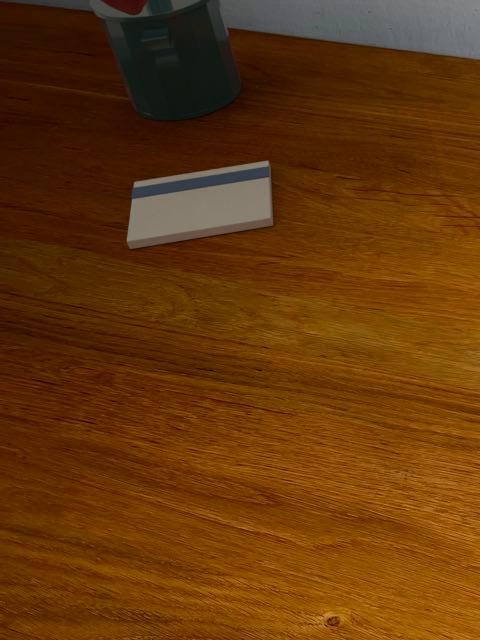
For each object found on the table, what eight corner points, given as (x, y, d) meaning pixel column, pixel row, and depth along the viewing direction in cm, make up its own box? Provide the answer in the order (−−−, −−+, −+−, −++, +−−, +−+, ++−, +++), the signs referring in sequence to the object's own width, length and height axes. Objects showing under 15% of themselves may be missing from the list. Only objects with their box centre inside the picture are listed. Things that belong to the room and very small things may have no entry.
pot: (127, 141, 101) (89, 40, 94) (138, 68, 112) (104, -27, 104) (242, 123, 101) (213, 21, 94) (242, 53, 112) (215, -43, 105)
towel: (129, 249, 88) (125, 240, 87) (137, 189, 94) (133, 180, 94) (273, 226, 89) (270, 216, 88) (270, 168, 95) (268, 159, 95)
